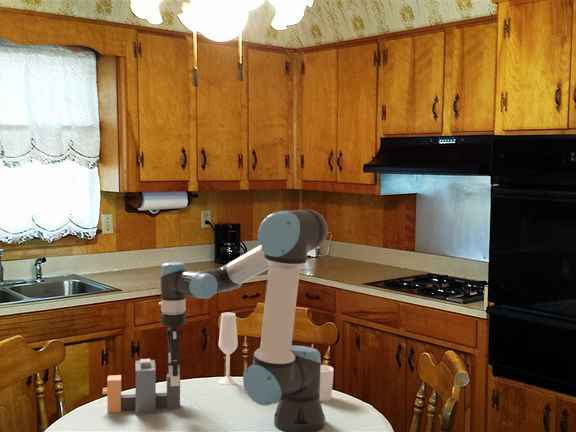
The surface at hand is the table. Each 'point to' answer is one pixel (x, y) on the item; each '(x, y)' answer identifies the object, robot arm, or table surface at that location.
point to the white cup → (326, 382)
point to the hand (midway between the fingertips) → (174, 379)
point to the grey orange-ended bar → (128, 402)
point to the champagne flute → (228, 342)
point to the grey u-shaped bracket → (145, 386)
